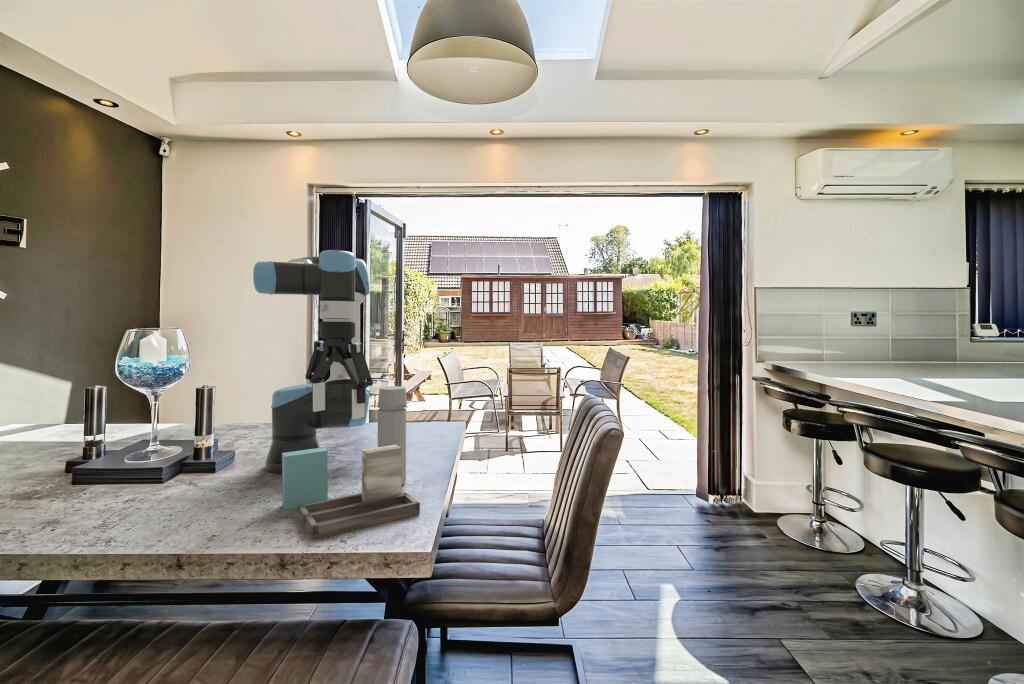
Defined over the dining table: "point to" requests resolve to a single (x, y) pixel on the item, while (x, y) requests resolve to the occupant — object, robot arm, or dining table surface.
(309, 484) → the teal door
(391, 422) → the water bottle
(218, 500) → the dining table surface
